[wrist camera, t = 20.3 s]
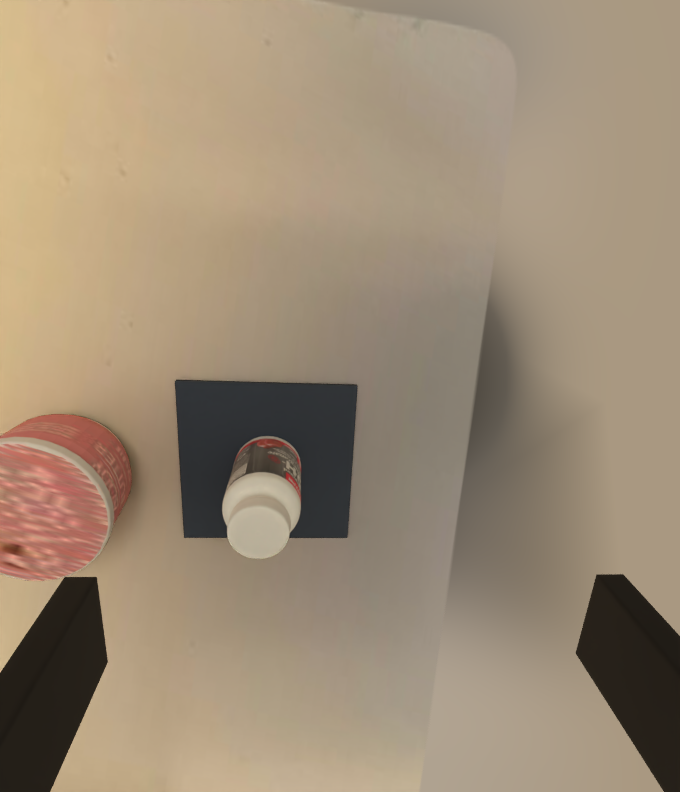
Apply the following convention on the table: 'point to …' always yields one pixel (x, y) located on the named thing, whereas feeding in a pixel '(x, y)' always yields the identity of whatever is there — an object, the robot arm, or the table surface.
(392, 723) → the table surface
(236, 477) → the pill bottle
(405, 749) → the table surface
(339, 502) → the mat
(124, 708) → the table surface
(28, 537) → the container
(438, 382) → the table surface
